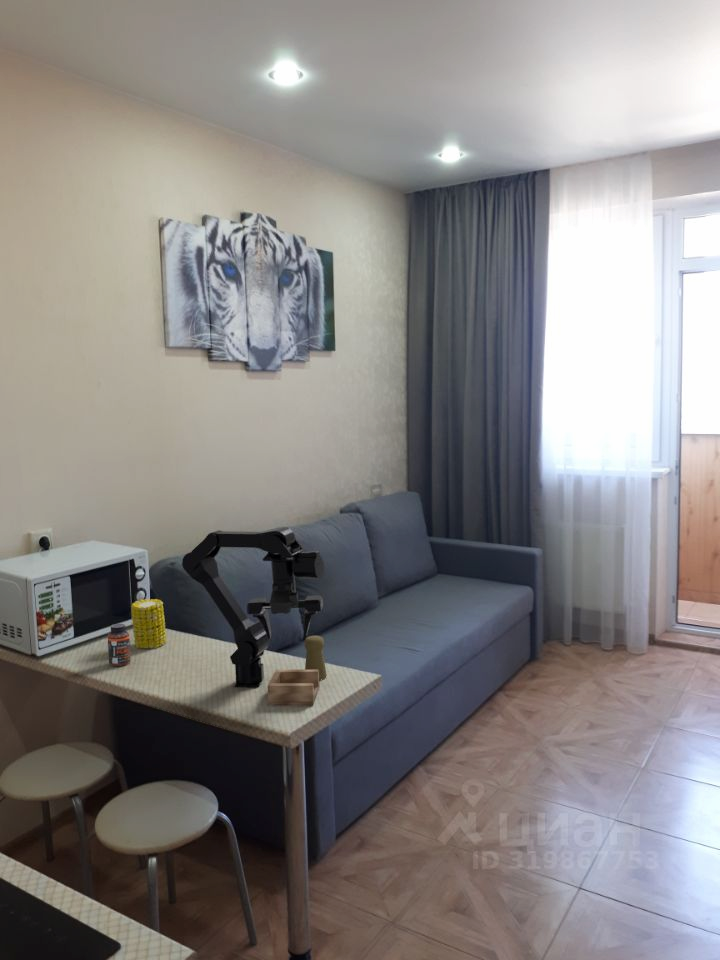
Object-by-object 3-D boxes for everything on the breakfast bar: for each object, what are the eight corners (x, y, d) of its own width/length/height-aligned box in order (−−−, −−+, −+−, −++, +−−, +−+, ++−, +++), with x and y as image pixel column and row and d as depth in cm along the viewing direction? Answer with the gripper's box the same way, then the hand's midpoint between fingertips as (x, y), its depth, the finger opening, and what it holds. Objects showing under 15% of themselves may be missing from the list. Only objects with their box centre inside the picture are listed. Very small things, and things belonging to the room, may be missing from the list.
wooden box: (267, 705, 180) (266, 686, 179) (277, 687, 192) (276, 668, 191) (313, 705, 179) (312, 686, 179) (319, 686, 191) (318, 668, 190)
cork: (331, 675, 199) (329, 635, 198) (318, 682, 194) (317, 641, 193) (312, 671, 202) (310, 632, 201) (299, 679, 197) (298, 638, 196)
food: (168, 644, 235) (158, 657, 225) (132, 637, 235) (120, 649, 225) (176, 599, 232) (166, 609, 222) (139, 591, 232) (127, 601, 223)
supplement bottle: (118, 668, 209) (115, 629, 208) (104, 665, 213) (102, 626, 212) (135, 662, 214) (132, 624, 213) (121, 659, 218) (119, 621, 217)
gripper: (240, 586, 182) (244, 649, 183) (316, 583, 180) (320, 646, 182) (249, 576, 193) (254, 635, 194) (321, 573, 191) (325, 632, 193)
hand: (287, 637), depth 190 cm, fingers open, 9 cm apart
